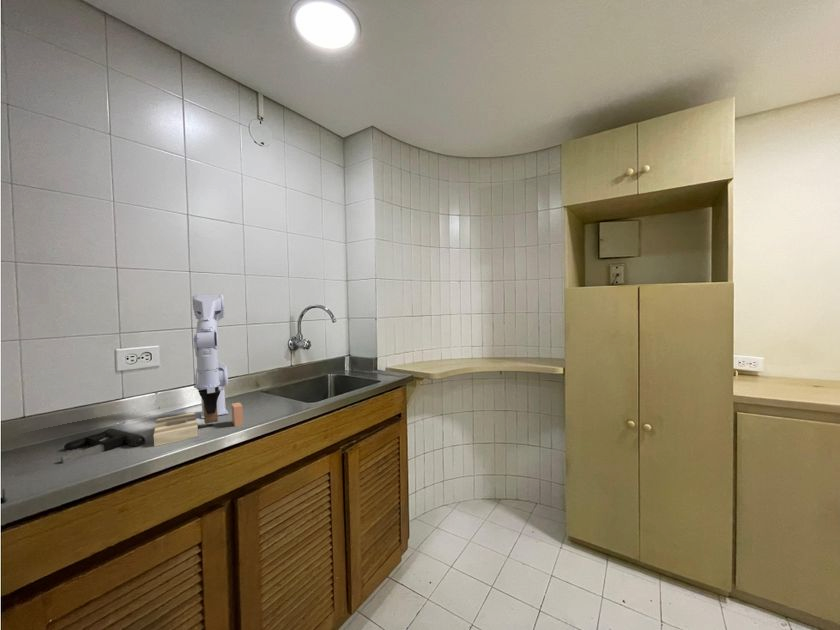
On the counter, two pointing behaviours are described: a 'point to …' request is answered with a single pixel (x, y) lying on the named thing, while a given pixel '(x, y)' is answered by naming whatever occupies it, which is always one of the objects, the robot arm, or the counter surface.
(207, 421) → the walnut peg
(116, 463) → the counter surface
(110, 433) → the door handle
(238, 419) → the salmon brown flat block
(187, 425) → the socket block
